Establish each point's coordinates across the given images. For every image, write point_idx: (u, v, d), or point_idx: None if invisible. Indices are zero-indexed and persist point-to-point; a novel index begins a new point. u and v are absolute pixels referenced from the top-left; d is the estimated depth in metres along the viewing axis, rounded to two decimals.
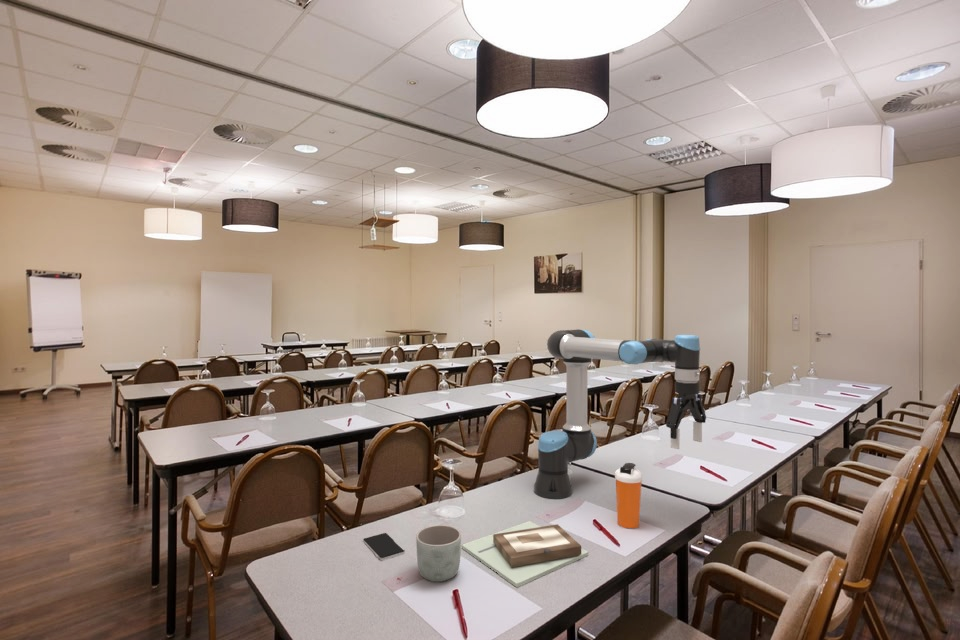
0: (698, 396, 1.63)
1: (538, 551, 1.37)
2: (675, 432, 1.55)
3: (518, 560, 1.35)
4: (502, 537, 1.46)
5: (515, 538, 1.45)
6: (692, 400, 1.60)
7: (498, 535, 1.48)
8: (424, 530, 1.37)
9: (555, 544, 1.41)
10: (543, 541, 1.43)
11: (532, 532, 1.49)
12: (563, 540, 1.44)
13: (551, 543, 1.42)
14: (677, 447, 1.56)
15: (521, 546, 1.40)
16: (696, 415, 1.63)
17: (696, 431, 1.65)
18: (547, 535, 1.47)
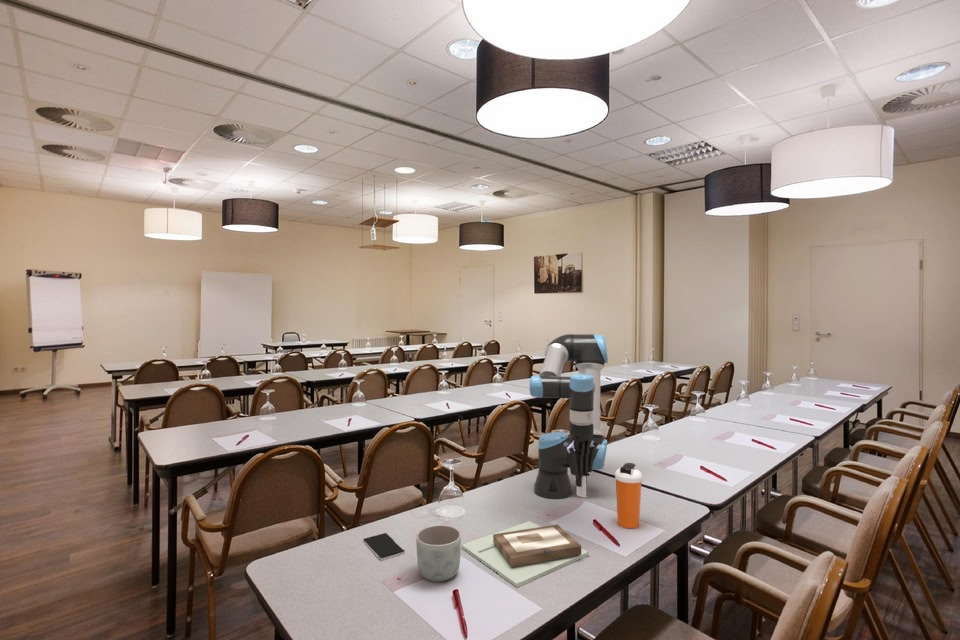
0: (594, 443, 1.58)
1: (538, 551, 1.37)
2: (580, 480, 1.54)
3: (518, 560, 1.35)
4: (502, 537, 1.46)
5: (515, 538, 1.45)
6: (587, 441, 1.55)
7: (498, 535, 1.48)
8: (424, 530, 1.37)
9: (555, 544, 1.41)
10: (543, 541, 1.43)
11: (532, 532, 1.49)
12: (563, 540, 1.44)
13: (551, 543, 1.42)
14: (582, 495, 1.54)
15: (521, 546, 1.40)
16: (583, 463, 1.56)
17: None
18: (547, 535, 1.47)
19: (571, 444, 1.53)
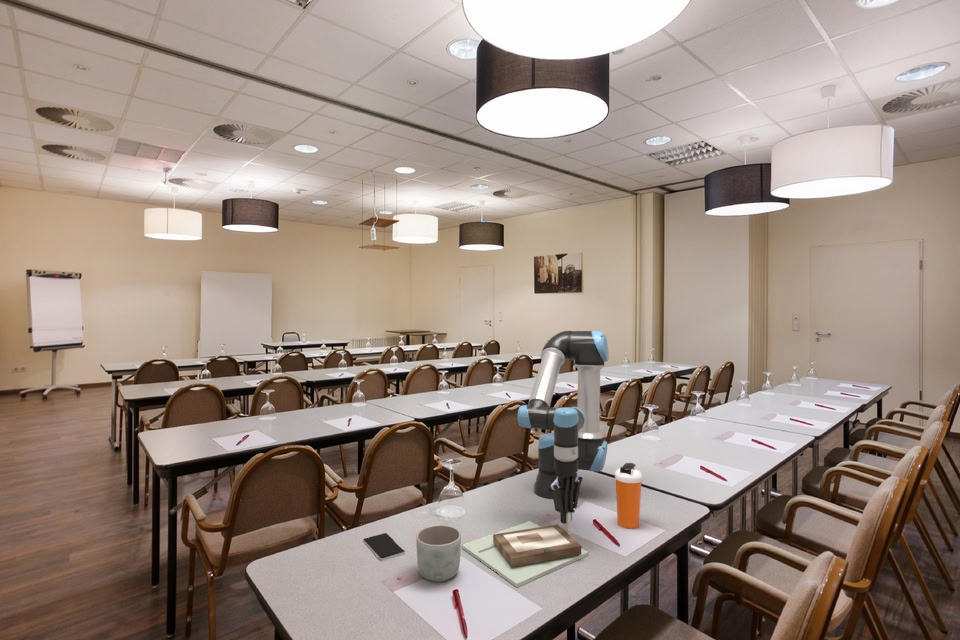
0: (579, 478, 1.54)
1: (538, 551, 1.37)
2: (565, 517, 1.50)
3: (518, 560, 1.35)
4: (502, 537, 1.46)
5: (515, 538, 1.45)
6: (571, 477, 1.51)
7: (498, 535, 1.47)
8: (424, 530, 1.37)
9: (555, 544, 1.41)
10: (543, 541, 1.43)
11: (532, 532, 1.49)
12: (563, 540, 1.44)
13: (551, 543, 1.42)
14: (567, 532, 1.51)
15: (521, 546, 1.40)
16: (568, 499, 1.52)
17: None
18: (547, 535, 1.47)
19: (555, 481, 1.49)
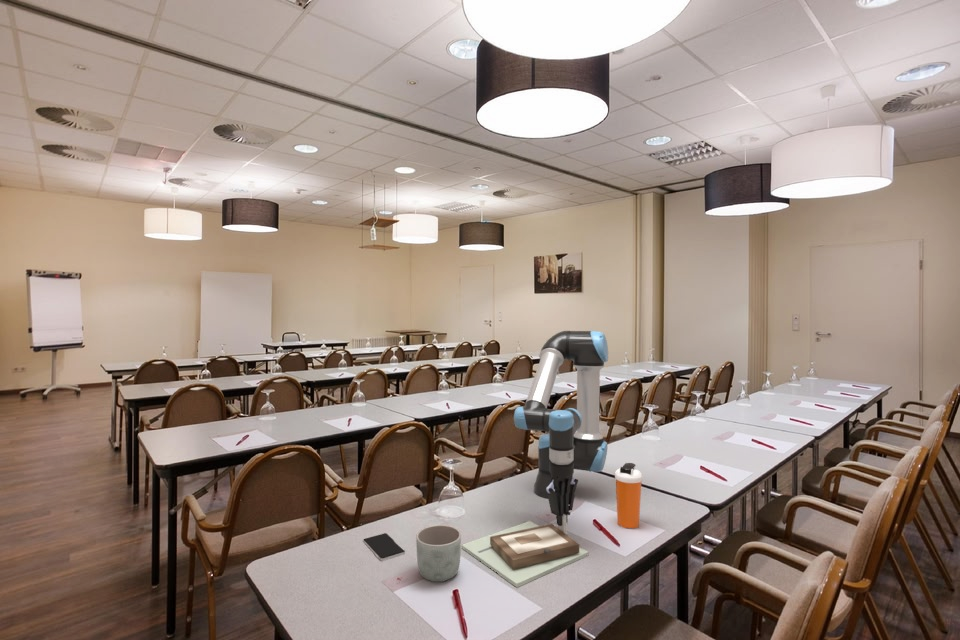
0: (575, 480, 1.53)
1: (538, 552, 1.37)
2: (561, 519, 1.50)
3: (519, 562, 1.34)
4: (500, 539, 1.45)
5: (513, 539, 1.44)
6: (567, 480, 1.50)
7: (495, 537, 1.46)
8: (424, 530, 1.37)
9: (554, 544, 1.41)
10: (541, 541, 1.43)
11: (529, 533, 1.48)
12: (561, 539, 1.44)
13: (549, 543, 1.42)
14: None
15: (520, 547, 1.39)
16: (564, 502, 1.51)
17: None
18: (544, 535, 1.47)
19: (551, 484, 1.48)
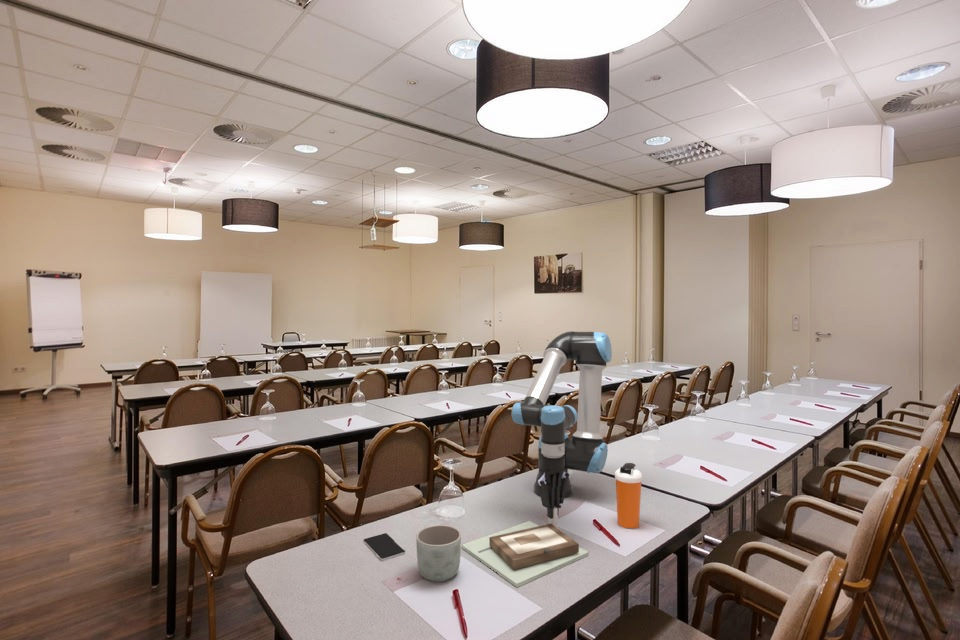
0: (566, 474, 1.58)
1: (538, 552, 1.37)
2: (552, 512, 1.54)
3: (520, 562, 1.34)
4: (499, 540, 1.45)
5: (512, 540, 1.44)
6: (558, 473, 1.54)
7: (494, 538, 1.46)
8: (424, 530, 1.37)
9: (553, 543, 1.42)
10: (541, 541, 1.43)
11: (528, 533, 1.48)
12: (560, 539, 1.44)
13: (549, 543, 1.42)
14: None
15: (520, 548, 1.39)
16: (555, 495, 1.55)
17: None
18: (543, 535, 1.47)
19: (542, 477, 1.52)
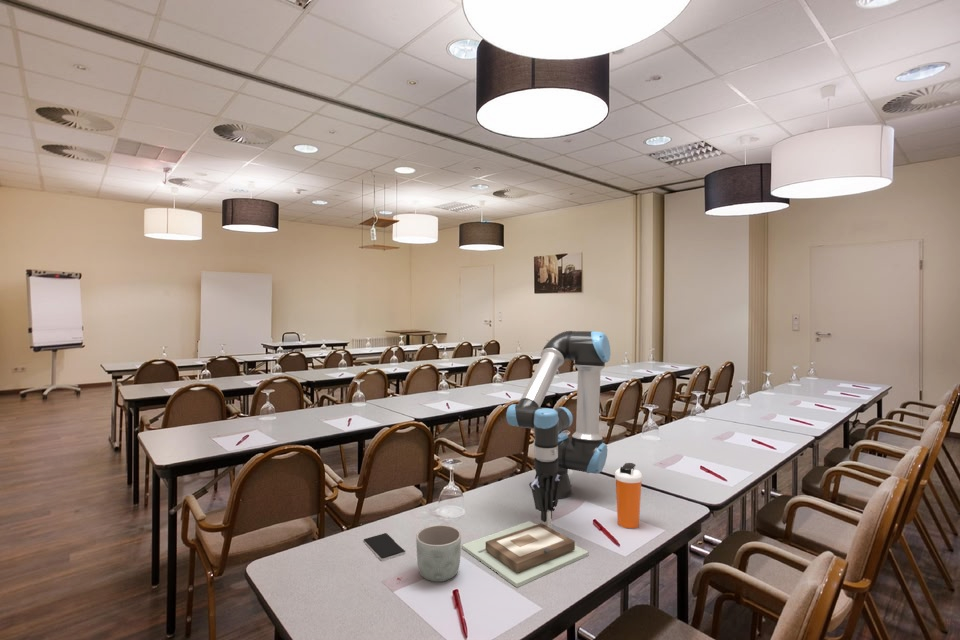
0: (559, 477, 1.56)
1: (539, 553, 1.37)
2: (545, 515, 1.53)
3: (523, 565, 1.32)
4: (496, 543, 1.42)
5: (510, 542, 1.42)
6: (551, 477, 1.53)
7: (491, 542, 1.43)
8: (424, 530, 1.37)
9: (551, 543, 1.42)
10: (538, 542, 1.43)
11: (522, 534, 1.48)
12: (556, 538, 1.45)
13: (546, 542, 1.42)
14: None
15: (520, 550, 1.38)
16: (548, 498, 1.54)
17: None
18: (538, 535, 1.47)
19: (535, 480, 1.51)
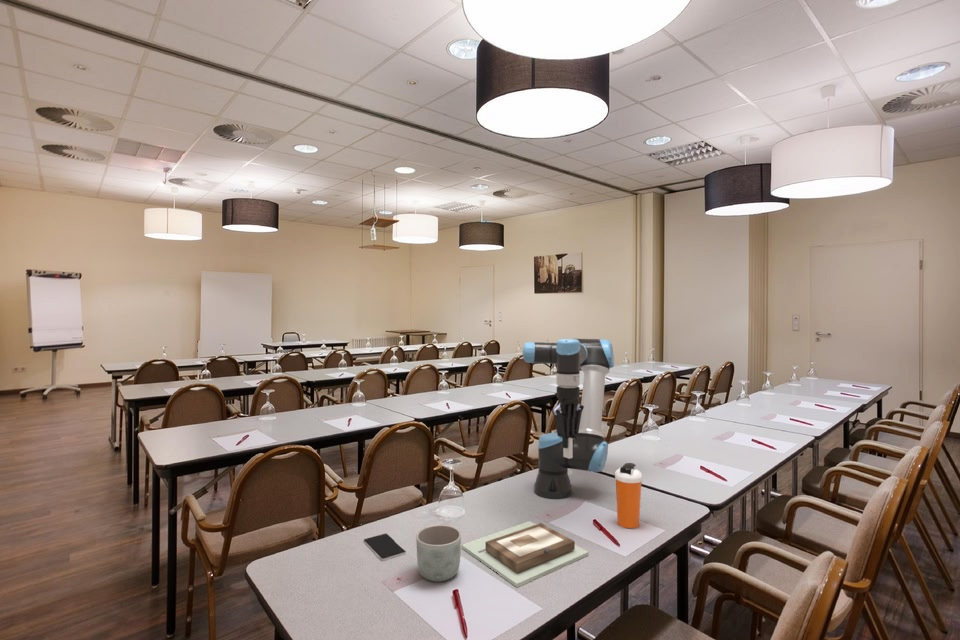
0: (580, 406, 1.61)
1: (539, 553, 1.37)
2: (567, 442, 1.58)
3: (523, 565, 1.32)
4: (496, 543, 1.42)
5: (510, 542, 1.42)
6: (573, 404, 1.58)
7: (491, 542, 1.43)
8: (424, 530, 1.37)
9: (551, 543, 1.42)
10: (538, 542, 1.43)
11: (522, 534, 1.48)
12: (556, 538, 1.45)
13: (546, 542, 1.42)
14: (568, 456, 1.58)
15: (520, 550, 1.38)
16: (570, 426, 1.59)
17: None
18: (538, 535, 1.47)
19: (558, 406, 1.56)
